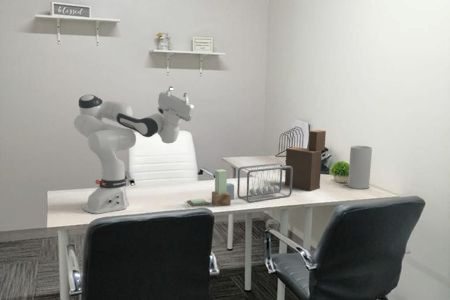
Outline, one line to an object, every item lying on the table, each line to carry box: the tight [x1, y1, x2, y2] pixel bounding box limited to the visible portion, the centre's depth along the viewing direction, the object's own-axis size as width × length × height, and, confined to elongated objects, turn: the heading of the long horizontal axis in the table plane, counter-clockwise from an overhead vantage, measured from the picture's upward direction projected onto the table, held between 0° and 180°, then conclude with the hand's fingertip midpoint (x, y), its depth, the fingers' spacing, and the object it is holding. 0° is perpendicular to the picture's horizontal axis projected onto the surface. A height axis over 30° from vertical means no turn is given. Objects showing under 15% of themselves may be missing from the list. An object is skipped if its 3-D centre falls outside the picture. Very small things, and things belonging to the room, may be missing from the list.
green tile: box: [186, 198, 210, 207], centre depth 219 cm, size 9×9×1 cm
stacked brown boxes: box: [284, 129, 327, 192], centre depth 256 cm, size 19×14×35 cm
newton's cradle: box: [236, 162, 293, 204], centre depth 231 cm, size 30×10×18 cm, turn 120°
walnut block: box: [211, 190, 232, 207], centre depth 219 cm, size 8×8×6 cm
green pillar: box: [214, 168, 228, 194], centre depth 217 cm, size 4×4×12 cm
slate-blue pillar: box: [227, 182, 235, 201], centre depth 228 cm, size 4×4×8 cm
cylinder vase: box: [347, 145, 373, 190], centre depth 258 cm, size 12×12×25 cm
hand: (178, 90), depth 209 cm, fingers open, 8 cm apart
